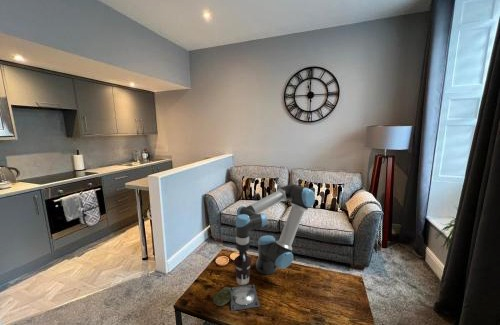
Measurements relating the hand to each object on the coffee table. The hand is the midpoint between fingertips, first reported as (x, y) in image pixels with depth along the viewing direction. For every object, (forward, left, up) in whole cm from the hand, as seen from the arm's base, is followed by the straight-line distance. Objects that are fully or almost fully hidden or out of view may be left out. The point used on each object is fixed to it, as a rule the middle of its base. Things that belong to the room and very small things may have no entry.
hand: (243, 277), depth 124 cm
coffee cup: (0, 0, -2) cm, 2 cm away
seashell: (+12, -1, -13) cm, 18 cm away
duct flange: (0, 0, -14) cm, 14 cm away
